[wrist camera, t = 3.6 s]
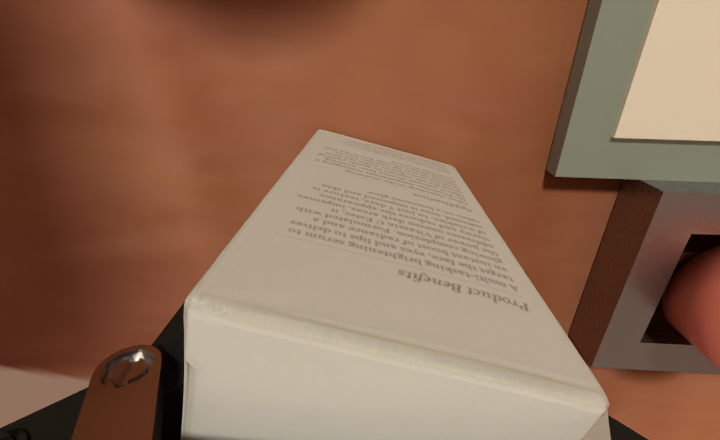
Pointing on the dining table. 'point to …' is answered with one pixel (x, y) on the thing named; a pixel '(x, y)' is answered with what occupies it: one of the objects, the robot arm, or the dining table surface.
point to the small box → (376, 316)
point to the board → (643, 94)
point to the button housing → (643, 277)
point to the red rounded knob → (697, 303)
